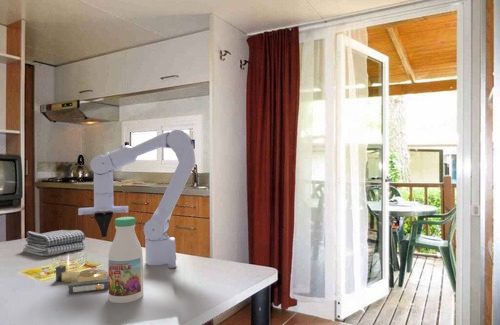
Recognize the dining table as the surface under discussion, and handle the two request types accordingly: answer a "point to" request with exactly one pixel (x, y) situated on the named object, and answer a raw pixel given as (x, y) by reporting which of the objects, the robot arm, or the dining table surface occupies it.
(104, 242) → the dining table surface
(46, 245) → the towel
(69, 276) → the tan piece
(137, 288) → the milk bottle
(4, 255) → the dining table surface
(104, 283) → the stand base
